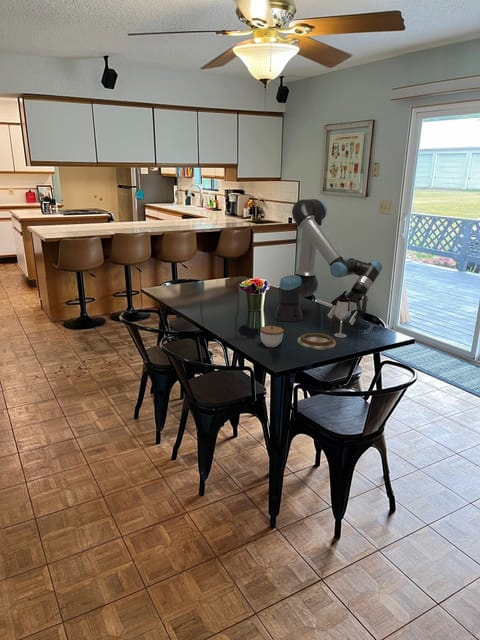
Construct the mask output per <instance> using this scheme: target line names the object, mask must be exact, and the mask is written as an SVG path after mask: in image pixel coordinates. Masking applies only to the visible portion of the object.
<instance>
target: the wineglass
mask: <svg viewBox="0 0 480 640" xmlns="http://www.w3.org/2000/svg"><path fill="white" fill-rule="evenodd" d="M348 300H349V299H348ZM348 300H337V303H336V306H335V309H334V316H335V317H336V319H338V320H339V322H340V323H339V324H340V325H339V332H337V333H334V334H333V336H334V337H336V338H341V339H343V338H347V334H345V333H342V329H343V328H342V327H343V322H344V321H345V320H346V319H348V318H349V317H350V316H351V313H352V309H351V308H352V307H351V302H349V301H348Z"/></svg>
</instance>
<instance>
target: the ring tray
mask: <svg viewBox="0 0 480 640" xmlns="http://www.w3.org/2000/svg"><path fill="white" fill-rule="evenodd" d="M297 344H298V345H299V346H301V347H303V348H305V349H311V350H318V351H319V350H320V351H321V350H322V351H325V350H331V349H334V348H335V347H336V344H337V342H336V340H335V339H334V337H332V336H331V335H328V334H326V333H319V332H307V333H304V334H301V335H300V336H299V337H298V338H297Z"/></svg>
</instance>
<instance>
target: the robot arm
mask: <svg viewBox="0 0 480 640" xmlns="http://www.w3.org/2000/svg"><path fill="white" fill-rule="evenodd" d="M327 214H328V210H327V205H326V204H325V203H324V201H322V200H321V199H317V198H316V199H315V198H311V199H300V200H298V201H296V202H295V203H294V204H293V206H292V208H291V216H292V219H293V221H294V223H295V224H296V225H297V227H298V228H299V229H302V230H301V231H302V232H301V238H300V239H301V240H300V242H301V243H300V251H299V259H298V260H299V261H298V270H296V271H295V273H294V275H293V274H291V275H285V276H282V278H280V280H279V291H278V292H279V293H278V305H277V308H276V310H275V314H274V319H276V320H278V321H280V322H287V323H288V322H289V323H295V322H301V321H302V320H303V312H302V309H301V298H304V297H305V298H306V297H310V296H312V295H314V294H315V293H317V291H318V288H319V280H318V278H317V273H316V272H315V263H316V262H315V261H316V254H317V253H316V252H317V251H318V252H319V253H320V254H321V256H322V257H323V259H324V260H325V262H327V264H328V266H329V267H330V270H329V271H330V274H331V276H333V277H334V278H336V279H337V278H338V279H339V278H344V277H346V276H351V275H355V276H357V279H356V281H355V283H353V286H352V287H351V289H350V292H348V291H347V290H344V291H343V292H342V293H341V294H340V295H339V296H337V297H336V298H335V299H333V300H332V301H331V302H330V303H331V305H332V306H331V308H330V309H329V313H328V314H327V317H328V319H332V318H333V316H335V314H334V309H335V306H336V303H337V300H348V301H349V302H350V303H353V304H356V311H355V312H353V314H352V316H351V318H350V320H349V321H348V322H349V324H350V325H351V326H353V325H354V323H355V322H356V320H358V319H359V317H360V316H361V315H366V313H367V304H368V301H369V298H368V296H367V293H368V291H369V290H370V289H371V287H372V285H373V284H374V283H375V281H376V279H377V278H378V276H380V273H381V272H382V269H383V265H382V264H381V262H379V261H378V260H376V259H370V260H369V261H368V262H365V261H363V260H362V261H361V260H358V259H355V258H353V257H349V256H347V257H345V258H343V256H342V255H341V253H340V252H339V251H338V250H337V249H336V247H335V246H334V244H333V243H332V242H331V240H330V239H329V238H328V236H327V235H326V234H325V232H324V231H323V229H322V228H321V227H322V223H323V220H324V219H325V218H326V217H327ZM361 301H362V304H361Z"/></svg>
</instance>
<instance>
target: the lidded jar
mask: <svg viewBox="0 0 480 640" xmlns="http://www.w3.org/2000/svg"><path fill="white" fill-rule="evenodd" d="M259 335H260V340H261V342H262V343H263V345H264V347H267V348H276V347H278V346H279V345H280V344H281V342H282V340H283V337H284V329H283V328H282V327H280V326H274V325H265V326H262V327H260V334H259Z"/></svg>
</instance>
